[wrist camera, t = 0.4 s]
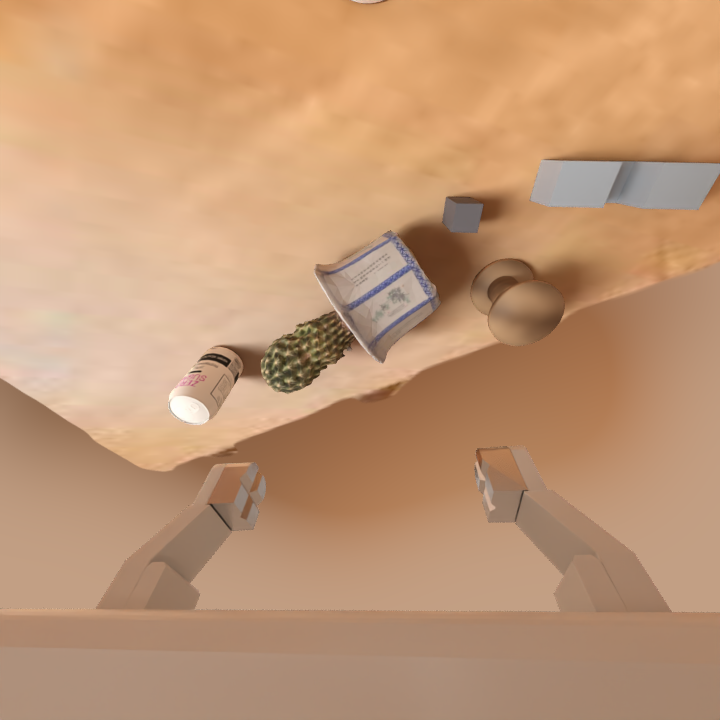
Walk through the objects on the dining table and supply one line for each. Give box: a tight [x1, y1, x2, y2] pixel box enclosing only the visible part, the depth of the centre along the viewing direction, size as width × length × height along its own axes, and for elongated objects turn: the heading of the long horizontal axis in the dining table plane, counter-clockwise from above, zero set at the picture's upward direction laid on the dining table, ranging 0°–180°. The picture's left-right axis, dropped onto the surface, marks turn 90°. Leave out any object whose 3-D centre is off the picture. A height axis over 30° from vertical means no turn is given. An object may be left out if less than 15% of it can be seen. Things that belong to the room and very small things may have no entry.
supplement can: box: [168, 347, 243, 425], centre depth 58 cm, size 8×8×15 cm
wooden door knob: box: [471, 259, 564, 346], centre depth 48 cm, size 10×10×11 cm
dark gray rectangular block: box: [442, 197, 484, 233], centre depth 43 cm, size 4×4×7 cm
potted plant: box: [261, 230, 441, 394], centre depth 47 cm, size 18×18×30 cm
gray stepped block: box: [530, 160, 720, 210], centre depth 40 cm, size 5×19×6 cm, turn 89°
